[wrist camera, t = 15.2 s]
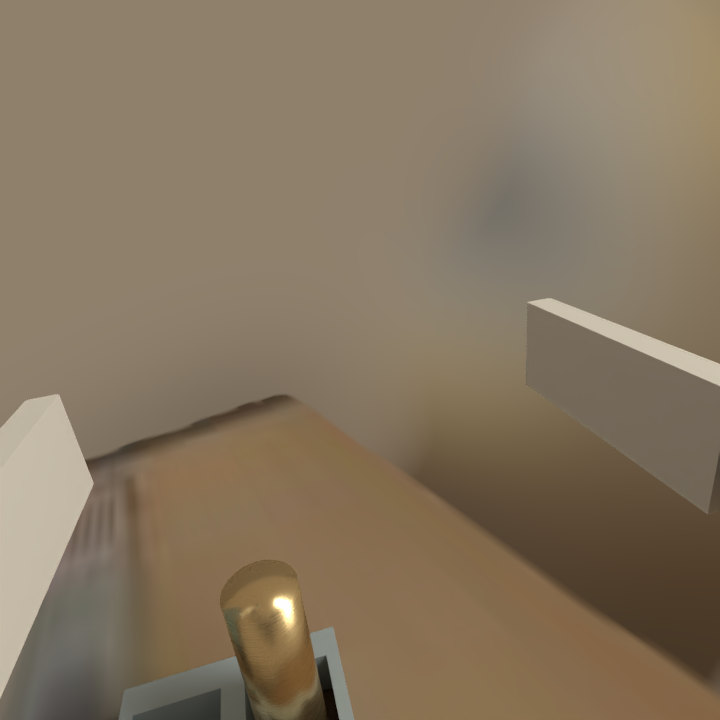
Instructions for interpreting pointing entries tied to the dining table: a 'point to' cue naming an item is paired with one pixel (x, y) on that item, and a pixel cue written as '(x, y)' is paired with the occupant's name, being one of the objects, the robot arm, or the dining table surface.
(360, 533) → the dining table surface
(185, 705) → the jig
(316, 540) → the dining table surface
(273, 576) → the gold metal cylinder
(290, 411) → the dining table surface
